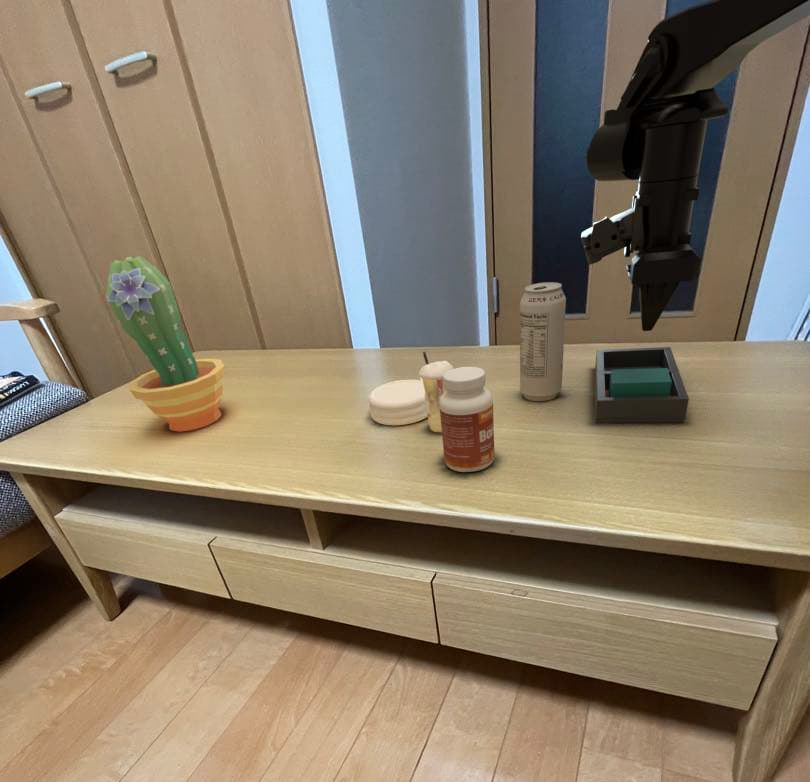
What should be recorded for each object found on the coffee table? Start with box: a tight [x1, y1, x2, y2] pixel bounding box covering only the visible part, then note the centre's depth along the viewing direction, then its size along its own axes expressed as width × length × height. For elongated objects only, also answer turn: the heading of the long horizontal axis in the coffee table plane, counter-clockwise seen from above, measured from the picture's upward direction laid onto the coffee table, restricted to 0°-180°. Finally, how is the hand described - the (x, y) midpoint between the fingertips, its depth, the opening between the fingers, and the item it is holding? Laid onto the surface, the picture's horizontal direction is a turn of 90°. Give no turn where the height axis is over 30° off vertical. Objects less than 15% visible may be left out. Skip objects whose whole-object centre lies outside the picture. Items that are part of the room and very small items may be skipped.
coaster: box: [367, 379, 428, 426], centre depth 78 cm, size 10×10×4 cm
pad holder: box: [594, 346, 690, 424], centre depth 73 cm, size 20×10×3 cm, turn 164°
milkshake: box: [418, 351, 455, 434], centre depth 70 cm, size 5×5×10 cm
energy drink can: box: [519, 281, 567, 402], centre depth 73 cm, size 6×6×15 cm
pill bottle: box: [439, 366, 495, 473], centre depth 61 cm, size 6×6×11 cm
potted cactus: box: [105, 254, 226, 432], centre depth 81 cm, size 15×15×25 cm
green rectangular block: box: [609, 368, 672, 397], centre depth 69 cm, size 7×5×4 cm
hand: (646, 330), depth 64 cm, fingers closed
